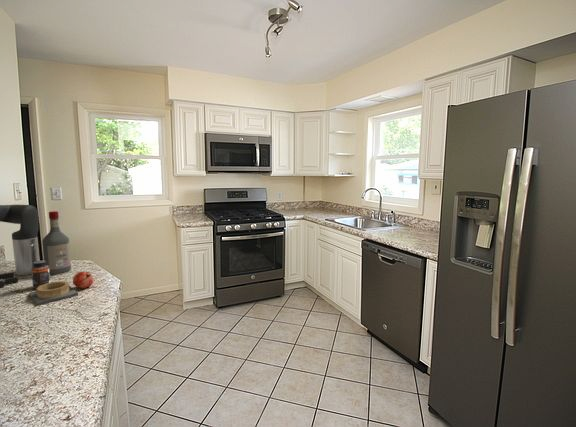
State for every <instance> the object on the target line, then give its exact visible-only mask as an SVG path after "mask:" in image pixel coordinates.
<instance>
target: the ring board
mask: <svg viewBox="0 0 576 427" xmlns="http://www.w3.org/2000/svg"><path fill="white" fill-rule="evenodd" d="M28 294H29V297H30V298H31V299H32V301H33V302H34V303H35V305H37V306H38V307H39V306H42V305H46V304H50V303H53V302H57V301H62V300H65V299H69V298H73V297H78V296H79V292H78V291H77V290H75V289H74V288H73V287H71V285H70V283H69V282H68V281H62V280H61V281H59V280H58V281H51V283H46V284H43V285H41V286H39V287H38V288H37V289H36V291H32V292H29V293H28Z"/></svg>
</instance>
